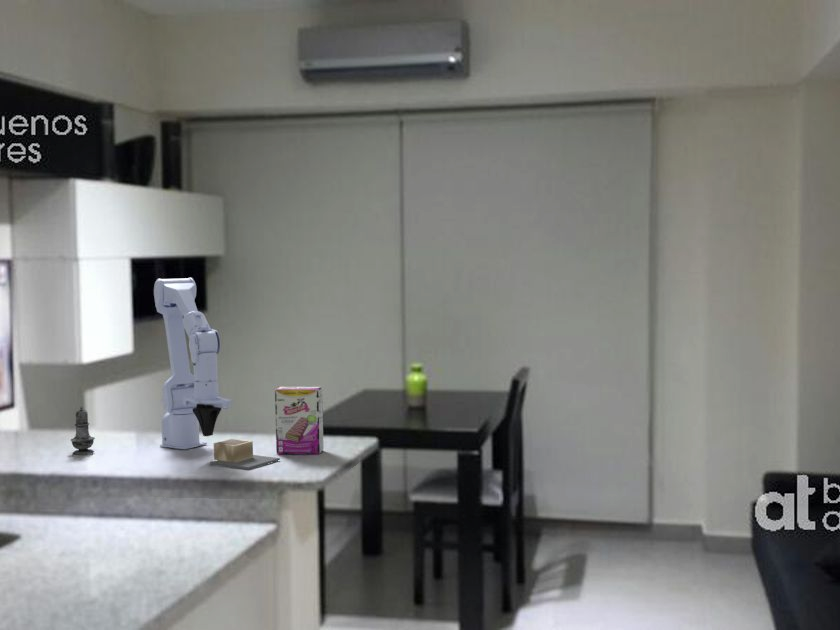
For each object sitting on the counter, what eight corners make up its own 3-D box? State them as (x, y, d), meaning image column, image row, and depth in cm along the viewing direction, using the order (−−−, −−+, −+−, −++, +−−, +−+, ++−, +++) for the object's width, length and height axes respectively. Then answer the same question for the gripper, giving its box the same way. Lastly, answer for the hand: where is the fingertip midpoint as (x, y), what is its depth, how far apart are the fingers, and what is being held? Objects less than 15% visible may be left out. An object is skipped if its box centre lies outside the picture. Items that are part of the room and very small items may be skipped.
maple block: (213, 443, 226) (235, 445, 223) (231, 438, 232) (252, 441, 228) (214, 459, 227) (235, 462, 223) (231, 455, 232) (253, 457, 228)
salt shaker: (99, 452, 242) (97, 405, 241) (77, 456, 238) (75, 408, 237) (88, 449, 246) (86, 403, 245) (66, 453, 242) (64, 406, 241)
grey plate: (210, 464, 224) (210, 462, 224) (242, 455, 233) (242, 453, 233) (248, 469, 218) (248, 467, 218) (279, 460, 227) (279, 458, 227)
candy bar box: (275, 454, 234) (273, 389, 233) (280, 450, 239) (278, 386, 238) (320, 454, 233) (318, 388, 232) (324, 450, 238) (322, 385, 237)
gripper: (172, 380, 231) (174, 435, 232) (215, 384, 223) (217, 441, 224) (193, 377, 237) (195, 430, 238) (236, 380, 229) (238, 435, 230)
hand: (207, 435), depth 232 cm, fingers closed
